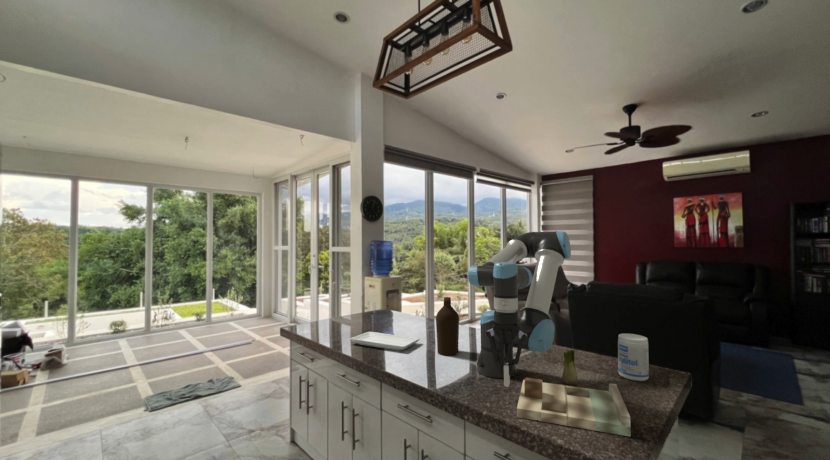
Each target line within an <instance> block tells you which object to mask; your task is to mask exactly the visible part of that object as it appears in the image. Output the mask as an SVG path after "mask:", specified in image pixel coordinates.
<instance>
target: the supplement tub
mask: <svg viewBox="0 0 830 460" xmlns="http://www.w3.org/2000/svg"><path fill="white" fill-rule="evenodd" d="M649 362H650V361H649V339H648V337H646V336H644V335H641V334H635V333H619V334H618V337H617V363H618V364H617V369H618V374H619V375H620V376H621V377H622V378H624V379H627V380H631V381H638V382H645V381H647V380H648V379H649V377H650V368H649V366H650V365H649V364H650V363H649Z"/></svg>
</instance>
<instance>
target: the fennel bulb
mask: <svg viewBox="0 0 830 460" xmlns="http://www.w3.org/2000/svg"><path fill="white" fill-rule="evenodd" d="M563 358H564V359H563V360H564V361H563V362H564V364H563V365H564V366H563V372H562V373H561V382H562V383H563V385H566V386H576V385H577V384H578V382H579V381H578V379H579V377H578V373H577V369H576V365H575V364H576V363H575V349H567V350H565V351H564V352H563Z"/></svg>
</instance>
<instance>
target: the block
mask: <svg viewBox="0 0 830 460" xmlns="http://www.w3.org/2000/svg"><path fill="white" fill-rule="evenodd" d="M524 380H525V383H524V385H525V397H530V398H537V399H542V394H543V387H542V382H543V379H540V378H531V377H525V379H524Z"/></svg>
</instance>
